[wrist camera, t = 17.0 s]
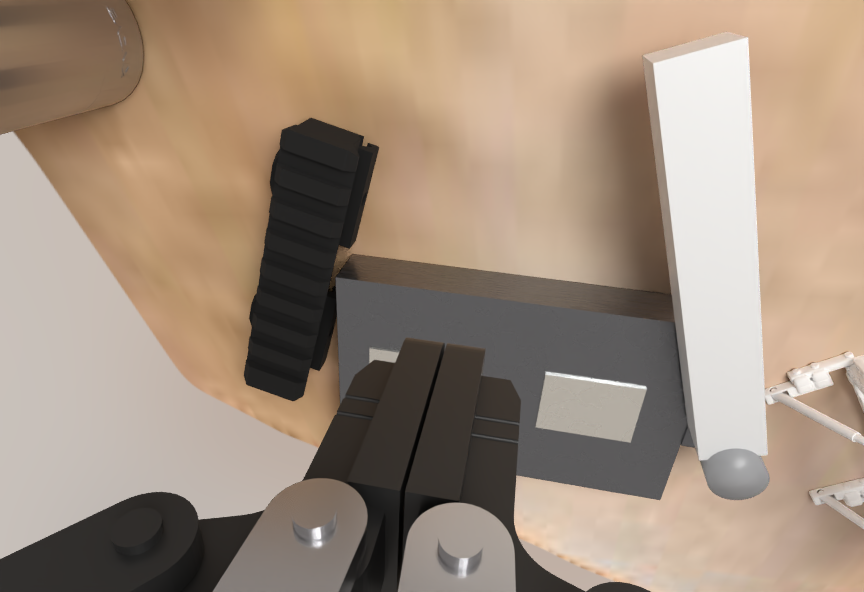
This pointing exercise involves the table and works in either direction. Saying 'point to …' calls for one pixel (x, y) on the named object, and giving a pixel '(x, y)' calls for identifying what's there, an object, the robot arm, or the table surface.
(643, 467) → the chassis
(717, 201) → the bar
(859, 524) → the film strip holder
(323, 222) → the rail mount
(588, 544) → the table surface
